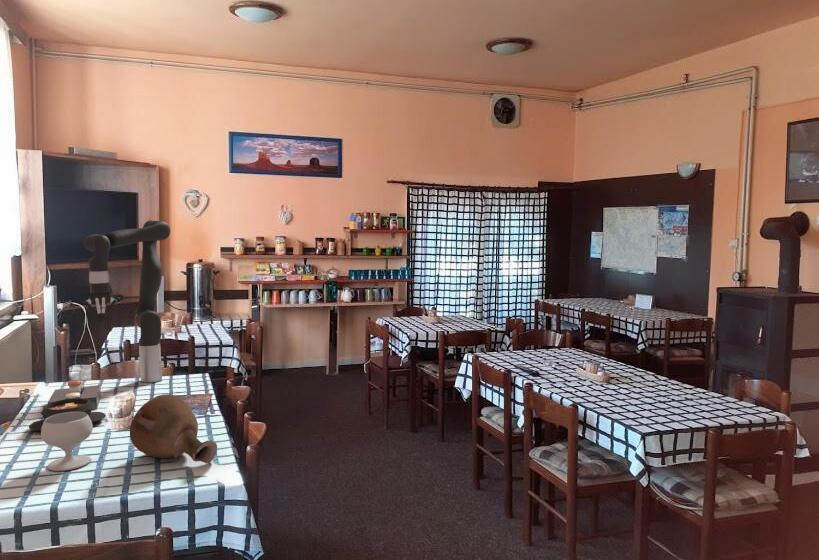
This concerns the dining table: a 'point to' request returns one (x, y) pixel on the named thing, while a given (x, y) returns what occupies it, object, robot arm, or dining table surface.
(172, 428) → the jug
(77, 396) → the knob
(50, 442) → the chalice
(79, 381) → the middle knob
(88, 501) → the dining table surface
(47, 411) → the casserole
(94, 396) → the control box
